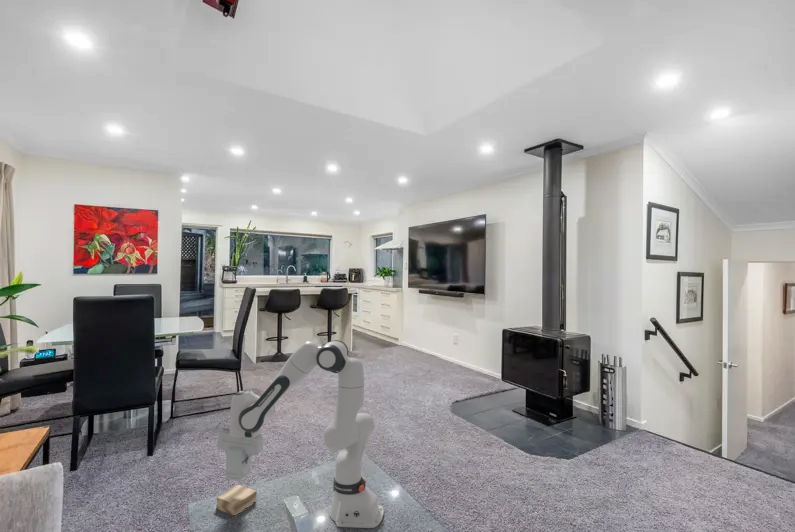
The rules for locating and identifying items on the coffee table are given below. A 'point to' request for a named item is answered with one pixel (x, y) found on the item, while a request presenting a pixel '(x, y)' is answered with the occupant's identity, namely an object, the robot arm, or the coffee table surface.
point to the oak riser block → (236, 499)
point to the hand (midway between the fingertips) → (238, 461)
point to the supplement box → (236, 464)
